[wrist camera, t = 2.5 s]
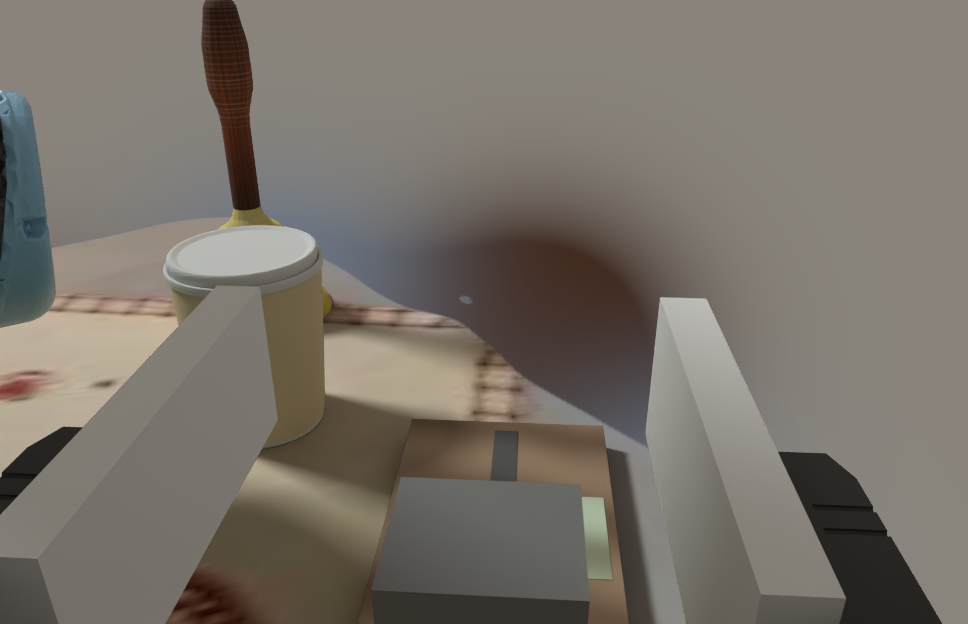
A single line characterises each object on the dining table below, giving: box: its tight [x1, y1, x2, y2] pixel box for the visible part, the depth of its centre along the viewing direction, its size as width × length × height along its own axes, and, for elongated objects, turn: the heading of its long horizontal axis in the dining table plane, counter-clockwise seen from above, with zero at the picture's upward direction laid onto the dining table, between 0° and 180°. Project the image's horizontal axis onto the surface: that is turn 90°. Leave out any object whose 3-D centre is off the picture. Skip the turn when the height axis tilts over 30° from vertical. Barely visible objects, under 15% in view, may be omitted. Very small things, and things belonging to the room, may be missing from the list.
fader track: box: [357, 419, 629, 624], centre depth 35 cm, size 30×12×2 cm, turn 176°
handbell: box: [201, 0, 332, 318], centre depth 62 cm, size 12×12×25 cm
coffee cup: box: [163, 225, 325, 448], centre depth 49 cm, size 9×9×12 cm
